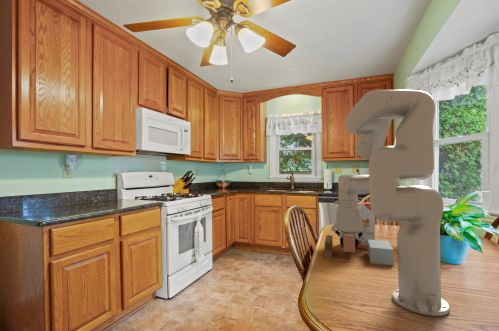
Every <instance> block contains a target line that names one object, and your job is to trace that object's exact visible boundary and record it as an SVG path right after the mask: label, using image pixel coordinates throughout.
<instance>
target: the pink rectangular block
mask: <svg viewBox="0 0 499 331" xmlns="http://www.w3.org/2000/svg"><path fill="white" fill-rule="evenodd" d="M342 249H343V250H342V251H343V252H348V253H356V249H355V234H354V232H343V248H342Z"/></svg>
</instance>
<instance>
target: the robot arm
mask: <svg viewBox="0 0 499 331" xmlns="http://www.w3.org/2000/svg"><path fill="white" fill-rule="evenodd" d="M435 115H436V103H435V100H434V98H433V97H432V96H431V94H430V93H428V92H426V91H423V90H415V89H414V90H413V89H373V90H369V91H368V92H366V93H365V94H364V95H363V96H362V97H361V98H360V100H359V101H358V102H357V103H355V105H354V106H353V107H352V108H351V110H350V111H349V113H348V114H347V117H346V120H345V129H346V131H347V133H348V134H350V135H358V139H357V142H356V145H355V146H356V147H355V149H354V151H355V154H357V155H358V156H359V157H361V158H362V159H364V160H367V161H369V162H368V163H369V164H368V174H341V175H339V176H338V181H337V182H338V199H337V200H335V202H334V203H335V205H338V206H337V207H336V211H335V212H336V213H335V214H336V215H335V223H334V224H333V225H332V227H331V231H332V232H334V233H335V234H336V235H337V236H338V237H339V245H340V246H341V248H342V249H343V232H354V233H355V250H357V249H358V248H357V246H358V239H359V238H360V237H361V236H362V235H363V234H365V233H367V230H366V228H365V227H364V226H363V225H362V218H361V211H360V208H359V207H358V202H359V194H360V195H361V194H363V195H364V194H369V203H370V205H371V210H372V213H373V214H374V218H376V219H377V220H379V221H380V222H386V223H398V222H399V223H401V224H400V226H399V228H398V231H397V235H396V236H397V237H396V238H397V239H396V245H397V249H396V250H397V251H396V252H397V273H398V274H397V277H398V279H397V280H398V281H397V282H398V288H397V289H394V290H393V291H392V296H391V297H392V300H393V301H394V302H395V303H396V304H397V305H398V306H400V307H401V308H403V309H405V310H407V311H410V312H413V313H415V314H419V315H424V316H429V317H430V316H431V317H443V316H446V315H447V314H449V313H450V304H449V303H448V302H447V301H446V300H445V299H443V298H442V280H441V276H442V274H441V273H442V271H441V250H440V249H441V245H440V244H441V243H440V242H441V241H440V238H441V236H440V235H441V234H440V233H441V222H442V218H443V214H444V213H443V212H444V200H443V198H442V195H441V194H440V193H439V192H438V191H437V190H436V189H434V188H432V187H429V186H425V185H398V182H399V181H401V182H403V181H404V182H406V181H407V182H411V181H422V180H426V179H429V178H431V177H432V175H433V174H434V171H435V151H434V150H435V148H434V133H433V132H434V131H433V130H434V121H435V120H434V119H435ZM392 120H401V121H400V122H399V123H398V125H397V128H396V130H395V145H384V144H385V142H386V139H387V136H388V133H389V130H390V127H391V124H392ZM362 230H363V231H362ZM358 232H359V233H358Z"/></svg>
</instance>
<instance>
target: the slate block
mask: <svg viewBox="0 0 499 331" xmlns="http://www.w3.org/2000/svg"><path fill="white" fill-rule="evenodd" d="M394 250H395V249H394V248H393V247H392V245H391V243H390V241H389V240H381V239H378V240H377V239H375V240H369V239H368V249H367V255H368V258H369V262H370V264H375V265H377V264H378V265H385V266H395V258H394V257H395V254H394V252H395V251H394Z"/></svg>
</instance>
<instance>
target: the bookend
mask: <svg viewBox="0 0 499 331" xmlns="http://www.w3.org/2000/svg"><path fill="white" fill-rule="evenodd" d="M333 244H334V243H333V235H329V234H327V235H325V239H324V258H325V259H332V256H333V249H334V247H333V246H334V245H333Z"/></svg>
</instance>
